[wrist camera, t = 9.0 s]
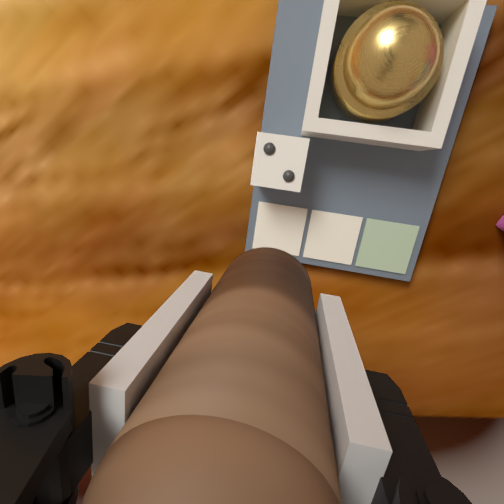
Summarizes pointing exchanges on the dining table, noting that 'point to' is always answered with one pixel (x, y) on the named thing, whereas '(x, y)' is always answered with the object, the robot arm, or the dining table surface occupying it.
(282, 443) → the brown rounded rod
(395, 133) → the dome collar
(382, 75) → the dome
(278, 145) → the die
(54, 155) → the dining table surface
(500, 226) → the gum box
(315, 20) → the board
